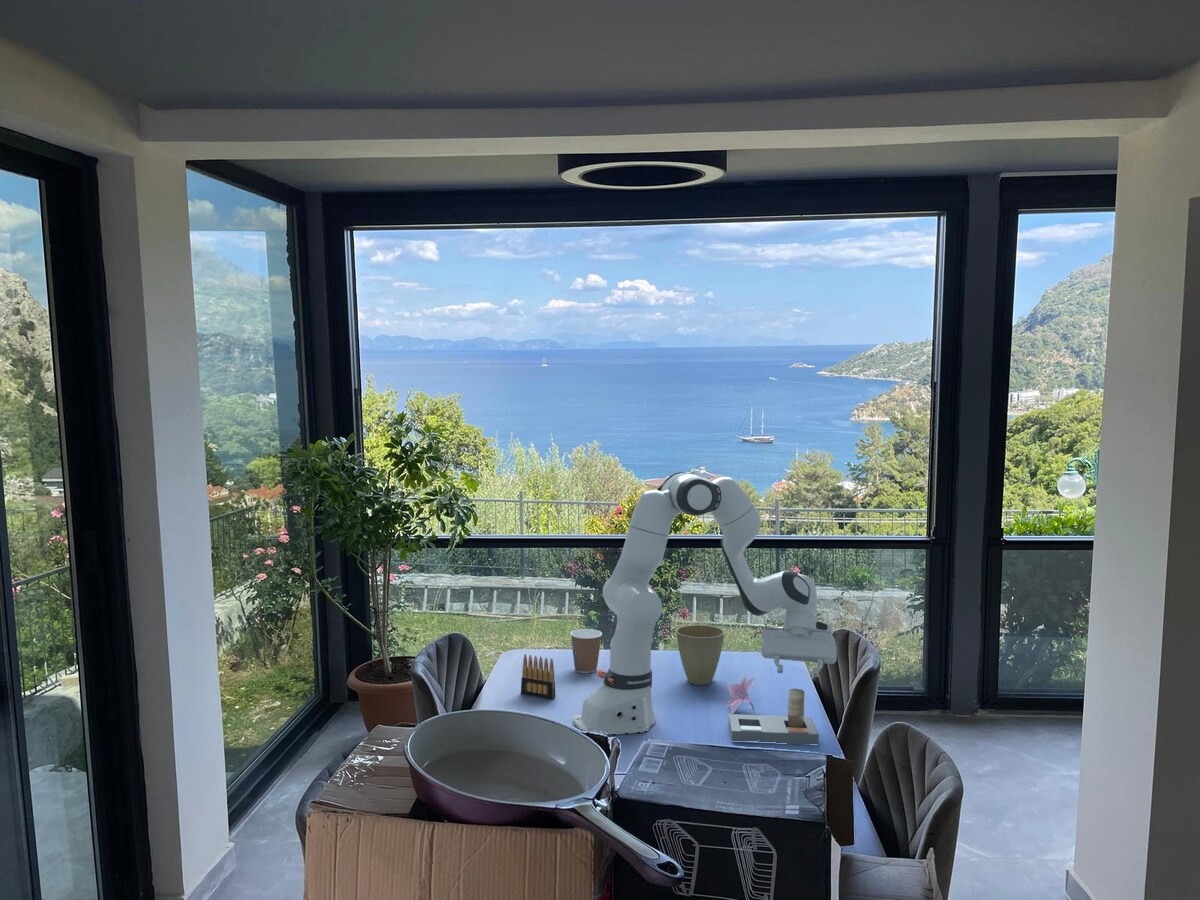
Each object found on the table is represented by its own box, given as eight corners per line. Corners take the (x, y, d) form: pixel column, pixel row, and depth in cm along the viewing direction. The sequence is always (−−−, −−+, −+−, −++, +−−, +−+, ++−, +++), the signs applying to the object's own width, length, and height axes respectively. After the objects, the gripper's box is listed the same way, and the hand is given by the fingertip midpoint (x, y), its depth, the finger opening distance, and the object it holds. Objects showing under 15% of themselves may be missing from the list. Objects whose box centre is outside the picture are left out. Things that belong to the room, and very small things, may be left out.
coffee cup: (572, 663, 293) (573, 628, 292) (603, 665, 291) (604, 629, 291) (567, 673, 283) (567, 636, 282) (599, 675, 281) (599, 638, 280)
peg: (793, 739, 231) (795, 694, 231) (784, 734, 235) (785, 689, 234) (806, 737, 233) (807, 692, 232) (796, 732, 237) (798, 687, 236)
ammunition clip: (520, 694, 263) (520, 654, 263) (523, 692, 265) (524, 652, 264) (552, 699, 259) (553, 659, 258) (555, 697, 261) (555, 657, 260)
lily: (730, 703, 261) (717, 677, 259) (768, 691, 258) (755, 665, 255) (729, 729, 250) (715, 703, 248) (768, 718, 247) (755, 691, 244)
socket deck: (731, 742, 229) (732, 729, 229) (728, 724, 241) (728, 712, 241) (818, 745, 228) (818, 732, 227) (810, 728, 240) (811, 715, 239)
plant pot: (710, 671, 287) (711, 623, 286) (731, 686, 273) (732, 635, 271) (667, 675, 282) (668, 626, 281) (686, 691, 268) (687, 639, 267)
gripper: (761, 620, 249) (758, 664, 241) (837, 626, 244) (836, 671, 236) (762, 631, 254) (759, 675, 245) (836, 637, 249) (835, 682, 240)
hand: (797, 673), depth 240 cm, fingers open, 8 cm apart
